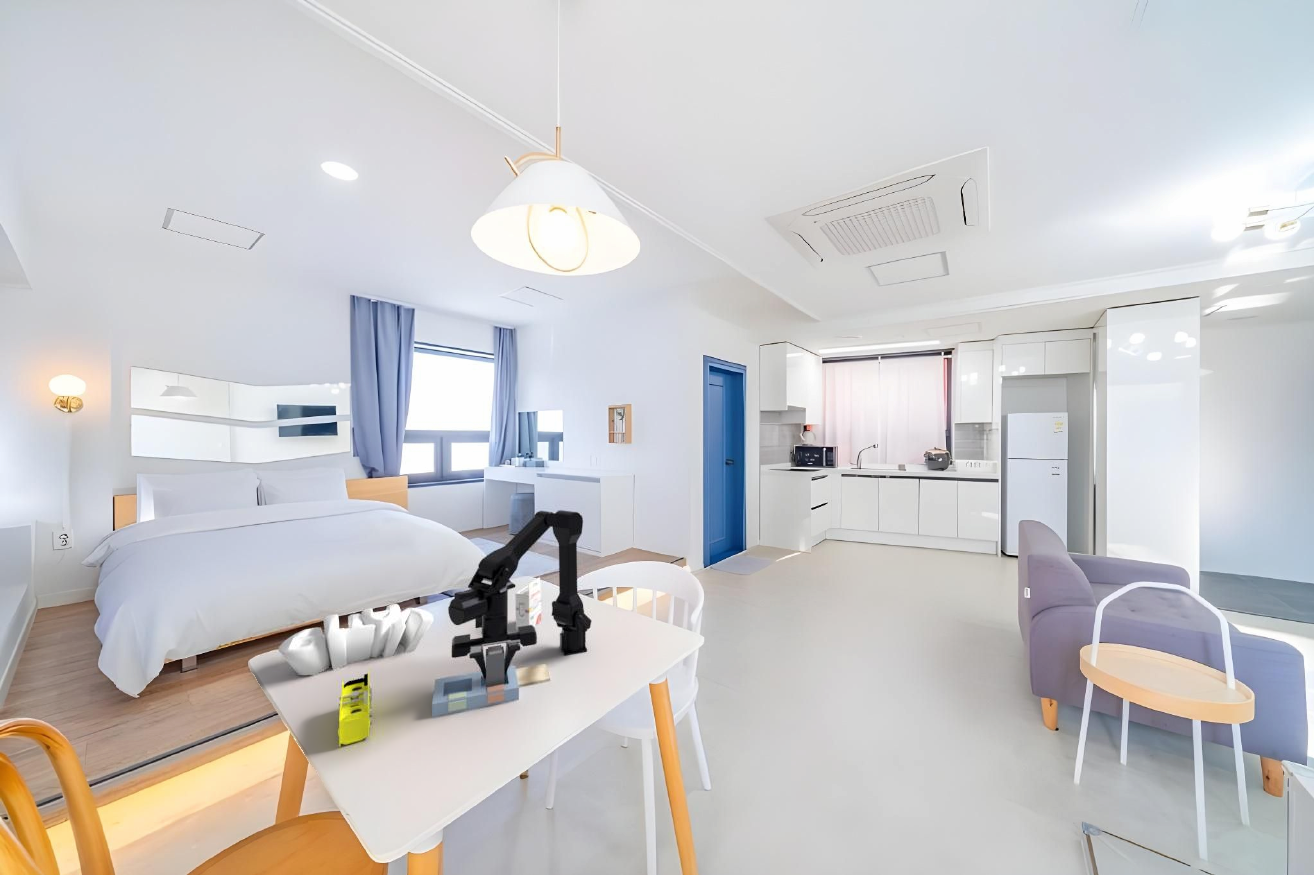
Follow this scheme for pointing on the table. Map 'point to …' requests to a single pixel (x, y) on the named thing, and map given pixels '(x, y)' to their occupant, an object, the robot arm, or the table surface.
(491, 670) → the plug
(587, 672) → the table surface
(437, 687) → the dock
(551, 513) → the robot arm
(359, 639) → the wavy white extrusion
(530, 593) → the ink cartridge box
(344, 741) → the yellow toy chassis
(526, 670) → the coaster
